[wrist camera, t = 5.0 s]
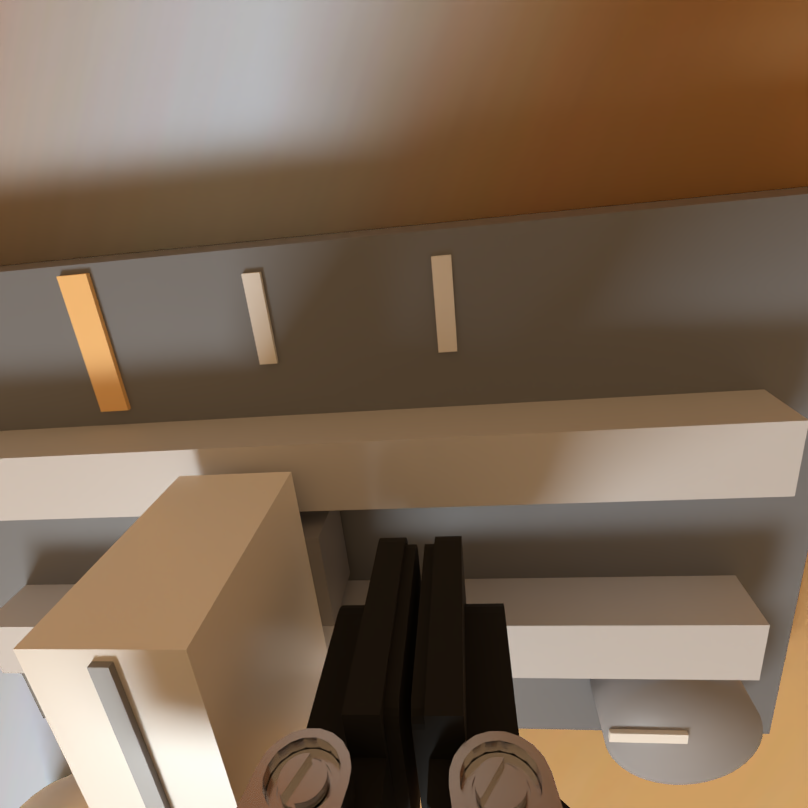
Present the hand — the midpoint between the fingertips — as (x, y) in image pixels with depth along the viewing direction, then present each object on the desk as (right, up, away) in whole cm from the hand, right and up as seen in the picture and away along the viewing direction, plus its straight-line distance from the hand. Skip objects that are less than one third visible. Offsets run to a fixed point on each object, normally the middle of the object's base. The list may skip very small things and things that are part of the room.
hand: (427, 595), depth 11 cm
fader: (-3, +1, +3) cm, 4 cm away
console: (-2, +2, +5) cm, 5 cm away
